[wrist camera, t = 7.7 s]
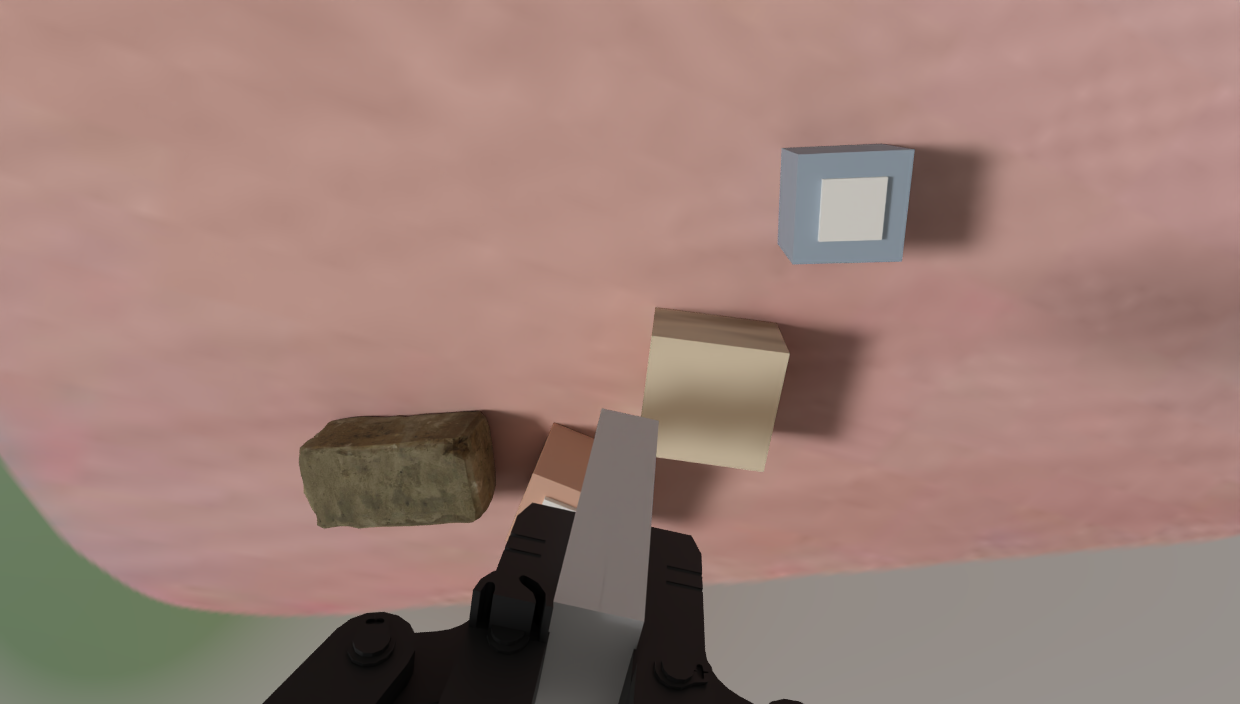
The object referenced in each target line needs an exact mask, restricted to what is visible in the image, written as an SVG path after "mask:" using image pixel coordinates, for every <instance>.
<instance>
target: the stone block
mask: <svg viewBox="0 0 1240 704" xmlns="http://www.w3.org/2000/svg"><path fill="white" fill-rule="evenodd" d="M299 466H300V471H301V476H302V479H303V484H304V494H305V495H306V497H307V499H308V501H309V504H310V506H311V508H312V510H313V511H314V512H315V513H316V516H317V525H318V526H320V527H322V528H324V529H325V528H331V527H337V526H350V527H355V528H369V527H392V526H419V525H435V524H444V523H470V522H474V521H475V520H477V519H479V518H480V517H481V516H482V514H483V513H484V512H485V511H486V510H487V508H488V506H489V504H490V502H491V501H492V498H493V494H494V490H495V486H496V476H495V466H494V457H493V449H492V440H491V435H490V428H489V425H488V422H487V420H486V417H485V416H484V415H482V413H481V412H480V411H475V412H465V411H463V412H454V413H441V414H424V415H413V416H409V417H402V416H392V417H352V418H345V419H339V420H334V421H331V422H329V423H328V424H327V425H326V426H325V428H324V429H323V430H322V431H320V432H319V433H318V434H316V435H315V436H314V438H312V439H310V440H308V441H307V442H306V443H305V444H304V445H303V446H302V447H300V455H299Z"/></svg>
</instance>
